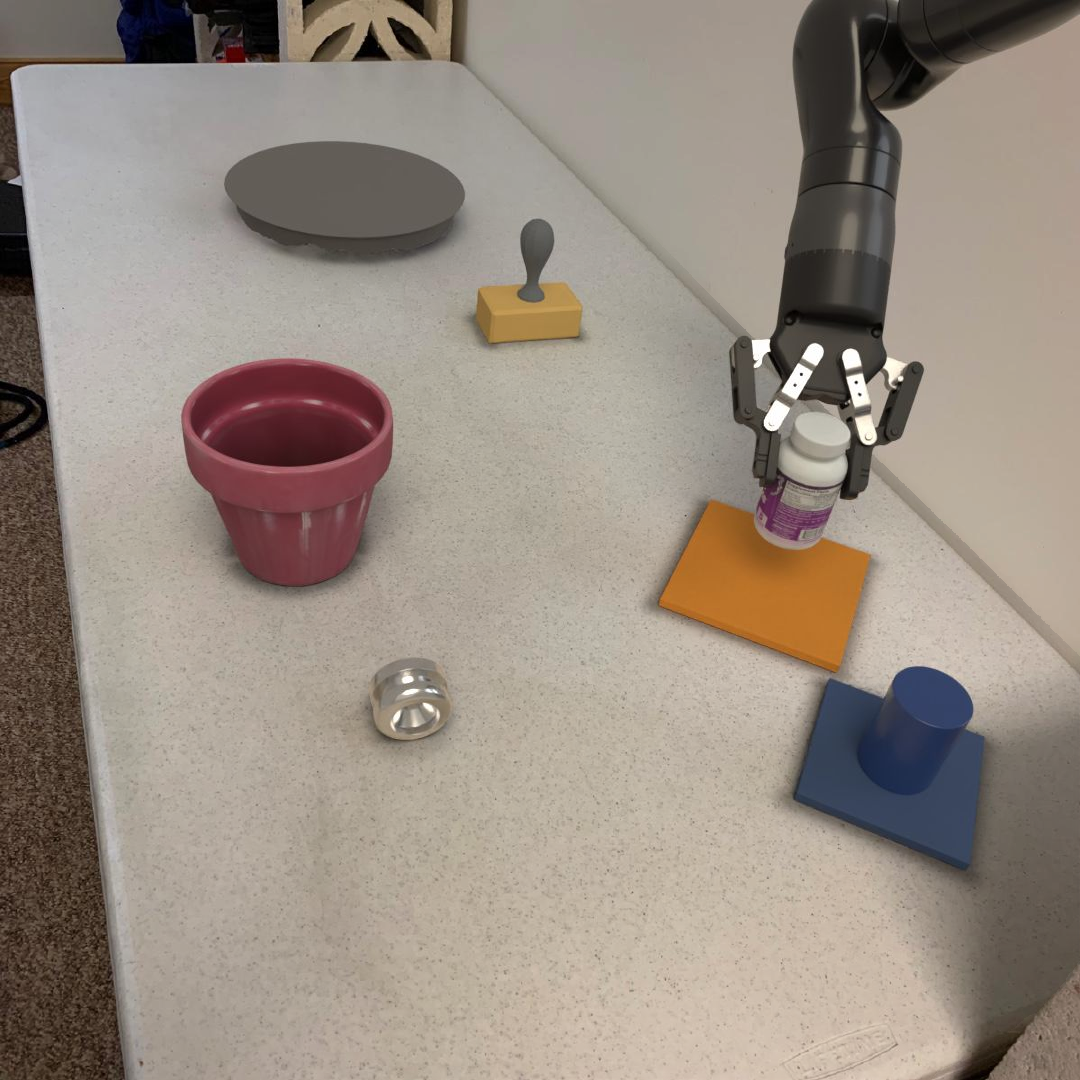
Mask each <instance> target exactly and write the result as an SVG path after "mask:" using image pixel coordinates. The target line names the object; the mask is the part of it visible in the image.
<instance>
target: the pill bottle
mask: <svg viewBox="0 0 1080 1080" xmlns="http://www.w3.org/2000/svg"><path fill="white" fill-rule="evenodd" d="M849 439H850V430H849V428H848V427H847V425H846V424H845V423H844V422H843V421H842V420H841V418H840V419H839V418H838V417H836V416H835V415H832V414H828V413H826V412H820V411H808V412H802V413H801V414H799V415H797V417H795V420H794V421H793V424H792V427H791V430H790V433H789V435H788V436H786V437H785V438H783V439H781V442H780V449H779V457H778V464H777V472H776V479H775V483H774V486H772V487H770V488H764V487H762V489H761V493H760V496H759V498H758V502H757V505H756V508H755V511H754V514H755V515H754V525H755V527H756V529H757V531H758V532H759V534H760V535H761V536H762V537H763V538H764V539H765V540H767V541H768V542H770V543H771V544H773V545H775V546H778V547H780V548H784V549H789V550H802V549H807V548H810V547H812V546H814V545H815V544H816V543H818V542H819V540H820V539H821V538H823V534H824V533H825V529H826V527H827V524H828V521H829V519H830V516H831V513H832V511H833V509H834V507H835V504H836V502H837V499H838V496H839V495H840V489H841V487H842V484H843V482H844V479H845V476H846V473H847V470H848V460H847V457H846V455H845V451H846V449H848V445H849Z"/></svg>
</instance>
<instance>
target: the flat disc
mask: <svg viewBox="0 0 1080 1080" xmlns="http://www.w3.org/2000/svg"><path fill="white" fill-rule="evenodd" d="M223 186H224V191H225V193H226V195H227V197H228V198H229V199H230V200H231V201H232V203H233V204H234V205H235V207H236V209H237V213H238V215H239V216H240V218H241V220H242V222H243V223H244V225H245V226H247V228H249V229H250V230H251V231H252V232H254V233H257V234H259V235H260V236H262V237H264V238H267V239H269V240H272V241H274V242H276V244H279V245H282V246H284V247H291V246H292V247H300V246H303V245H306V246H307V245H311V246H315V247H317V248H319V249H322V250H325V251H332V252H337V253H338V252H340V251H345V252H346V253H349V254H353V255H356V256H359V255H374V254H380V253H383V252H387V251H391V250H395V251H396V252H404V251H407V250H410V249H418V248H421V247H423V246H424V245H425V246H427V245H429V244H432V243H433V242H435V241H436V240H438V238H443V236H445V235H448V234H449V231H450V229H452V226H453V224H454V219H455V216H456V213H458V212H459V210H460V209H461V207H463V206H464V205H463V204H464V202H465V200H466V192H465V191H466V190H465V188H464V185H463V183H462V182H461V180H460V179H459V178H458V177H457V176H456V175H455V174H454V173H453V172H452V171H450V169H448V168H447V167H445V166H444V165H442V164H439V163H438V162H436V161H434V160H432V159H430V158H427V157H425V156H423V155H419V154H416V153H414V152H410V151H407V150H404V149H401V148H400V149H399V148H397V147H390V146H387V145H386V146H385V145H381V144H373V143H367V142H356V141H342V140H341V141H338V140H321V141H320V140H319V141H318V140H317V141H303V142H295V143H294V142H293V143H289V144H283V145H278V146H274V147H269V148H266V149H262V150H260V151H256V152H254V153H252V154H250V155H248V156H246V157H243V158H242V159H240V160H239V161H237V162H236V163H235V164H234V165H232V167H231V168H230V169H229V170H228V171H227V172H226V175H225V177H224V182H223Z"/></svg>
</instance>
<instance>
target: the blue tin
mask: <svg viewBox="0 0 1080 1080" xmlns="http://www.w3.org/2000/svg"><path fill="white" fill-rule="evenodd" d="M882 698H883V700H882V702H881V704H880V706H879V708H878V710H877V712H876V714H875V715H874V717H873V719H872V721H871V723H870V725H869V727H868V729H867V731H866V733H865V735H864V737H863V738H862V740H861V742H860V744H859V747H858V760H859V763H860V765H861V767H862V769H863V771H864V772H865V773H866V775H867V776H868V777H869V778H870V779H871V780H872V781H873V782H874V783H876V784H877V785H879V786H880V787H882V788H884V789H886V790H888V791H890V792H893V793H897V794H902V795H913V794H918V793H920V792H922V791H924V790H926V789H927V788H928V787H929V785H930V784H931V782H932V781H933V779H934V778H935V776H936V774H937V773H938V771H939V770H940V768H941V766H942V765H943V763H944V762H945V760H946V758H947V757H948V755H949V754H950V752H951V750H952V749H953V747H954V746H955V744H956V742H957V741H958V739H959V738H960V736H961V734H962V733H963V731H964V730H965V729H966V728H967V727H968V725H969V723H970V721H971V720H972V718H973V715H974V703H973V700H972V698H971V695H970V694H969V692H968V691H967V689H966V688H965V687H964V686H963V685H962V684H961V683H960V682H959V681H958V680H957V679H955V678H954V677H953V676H951V675H949V674H948V673H946V672H944V671H942V670H939V669H936V668H933V667H929V666H923V665H913V666H909V667H908V666H907V667H905V668H902V669H901V670H899V671H898V672H897V673H896V674H895V676H894V677H893V679H892V680H891V683H890V685H889V687H888V689H887V691H886V693H885V695H884V696H883V697H882Z"/></svg>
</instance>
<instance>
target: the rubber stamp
mask: <svg viewBox="0 0 1080 1080" xmlns="http://www.w3.org/2000/svg"><path fill="white" fill-rule="evenodd" d="M554 233H555V232H554V229H553V227H552V225H551V224H550V223H549V222H548V221H547V220H545V219H542V218H532V219H531V220H529V221H528V222H526V223H525V224H524V226H523V228H521V232H520V235H519V240H520V241H519V243H520V244H519V245H520V251H521V255H522V260H523V263H524V267H525V272H526V282H525V283H523V284H506V285H489V286H481V287H478V288H477V297H476V310H475V311H476V312H475V320H476V322H477V324H478V326H479V328H480V329H481V331H482V333H483V335H484V337H485V338H486V341H487V342H488V344H499V343H513V342H526V341H529V342H530V341H542V340H553V339H555V340H556V339H568V338H570V339H571V338H577V337H579V336H580V329H581V322H582V316H583V311H584V310H583V305H582V304H581V302H580V300H579V299H578V298H577V296H576V295H575V293H574V292H573V291H572V289H571V288H570V286H569V285H568V283H567V282H564V281H559V282H542V283H541V282H540V283H539V280H540V277H541V275H542V272H543V270H544V268H545V266H546V264H547V262H548V261H549V259H550V257H551V255H552V252H553V250H554V246H555V234H554Z"/></svg>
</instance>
